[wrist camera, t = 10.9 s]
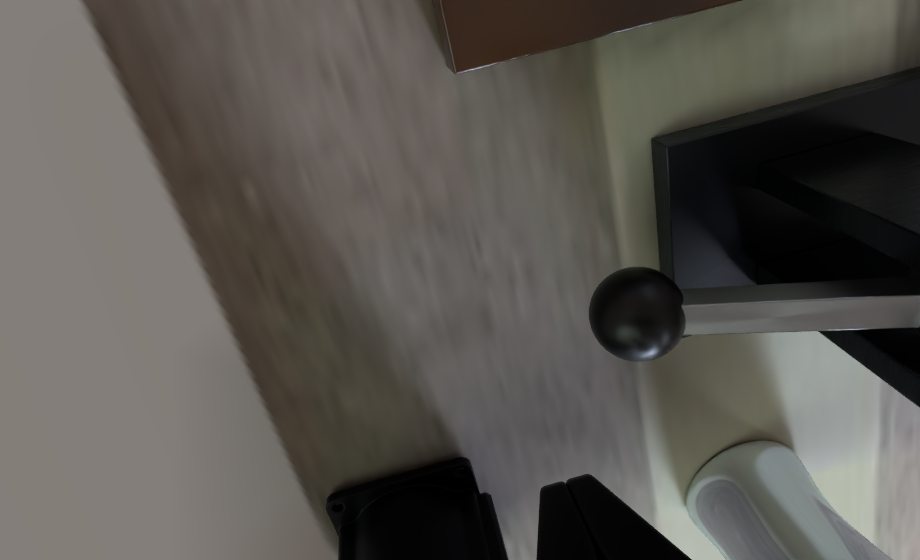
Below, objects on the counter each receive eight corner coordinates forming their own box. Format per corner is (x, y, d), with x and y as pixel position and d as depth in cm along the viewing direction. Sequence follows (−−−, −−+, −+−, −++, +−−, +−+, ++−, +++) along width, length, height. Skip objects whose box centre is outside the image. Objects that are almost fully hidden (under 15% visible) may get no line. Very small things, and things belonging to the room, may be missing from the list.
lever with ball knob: (597, 327, 21) (591, 381, 19) (587, 253, 20) (580, 302, 17) (1010, 312, 17) (1071, 377, 15) (1033, 219, 16) (1105, 275, 14)
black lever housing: (663, 324, 25) (829, 509, 16) (650, 138, 21) (858, 247, 12) (910, 255, 25) (1203, 398, 16) (941, 60, 21) (1339, 112, 13)
